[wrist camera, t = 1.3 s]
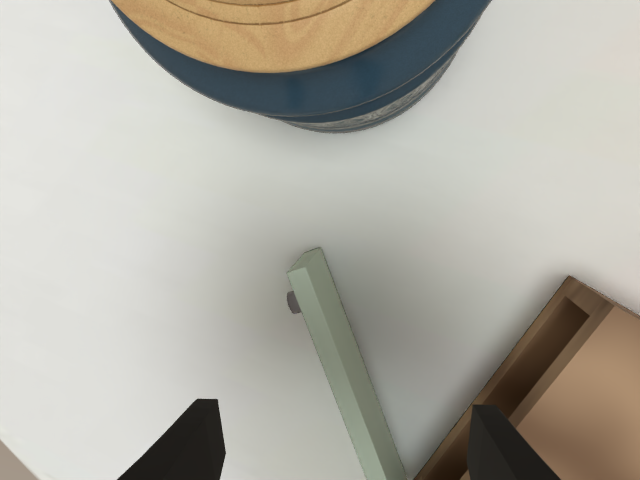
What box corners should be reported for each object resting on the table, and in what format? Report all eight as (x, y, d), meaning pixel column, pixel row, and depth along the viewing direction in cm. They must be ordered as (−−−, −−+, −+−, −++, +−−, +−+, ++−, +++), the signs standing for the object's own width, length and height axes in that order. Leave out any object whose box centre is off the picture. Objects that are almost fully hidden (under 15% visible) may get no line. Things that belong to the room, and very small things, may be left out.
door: (408, 483, 27) (412, 547, 23) (378, 489, 28) (376, 553, 23) (320, 247, 25) (305, 266, 21) (289, 257, 26) (267, 279, 21)
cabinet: (551, 566, 27) (585, 654, 22) (412, 481, 28) (417, 550, 23) (733, 370, 23) (822, 426, 19) (569, 275, 24) (614, 305, 19)
